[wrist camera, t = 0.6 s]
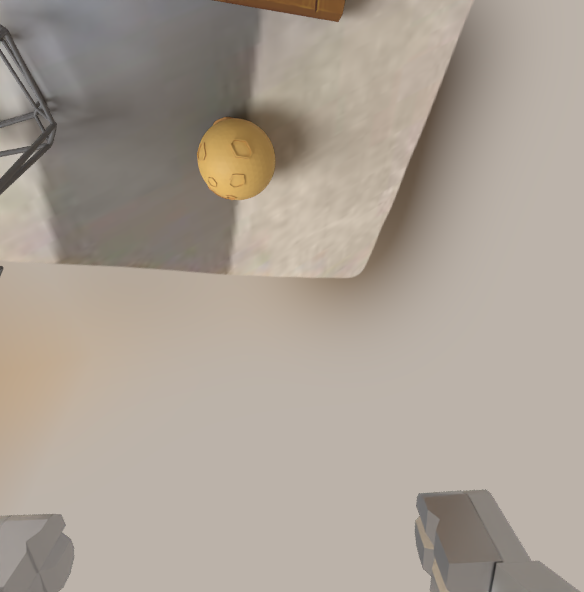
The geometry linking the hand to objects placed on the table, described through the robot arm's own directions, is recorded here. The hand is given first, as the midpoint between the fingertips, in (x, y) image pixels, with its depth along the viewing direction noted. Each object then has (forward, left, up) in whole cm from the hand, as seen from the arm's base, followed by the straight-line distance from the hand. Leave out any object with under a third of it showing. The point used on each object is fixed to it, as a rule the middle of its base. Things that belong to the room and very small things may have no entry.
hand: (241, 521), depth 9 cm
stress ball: (+11, -5, -51) cm, 52 cm away
